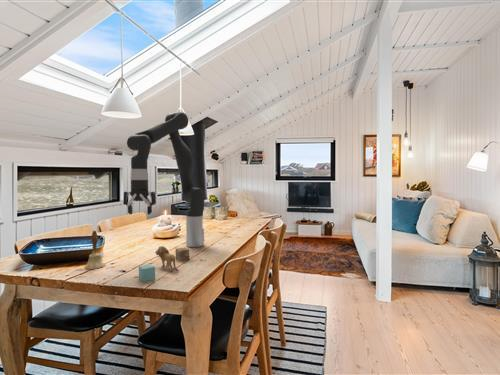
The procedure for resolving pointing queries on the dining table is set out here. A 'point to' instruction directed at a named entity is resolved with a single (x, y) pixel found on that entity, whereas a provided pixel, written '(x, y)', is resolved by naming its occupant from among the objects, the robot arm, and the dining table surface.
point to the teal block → (146, 272)
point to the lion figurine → (166, 257)
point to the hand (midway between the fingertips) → (139, 214)
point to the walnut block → (182, 254)
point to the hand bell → (94, 255)
